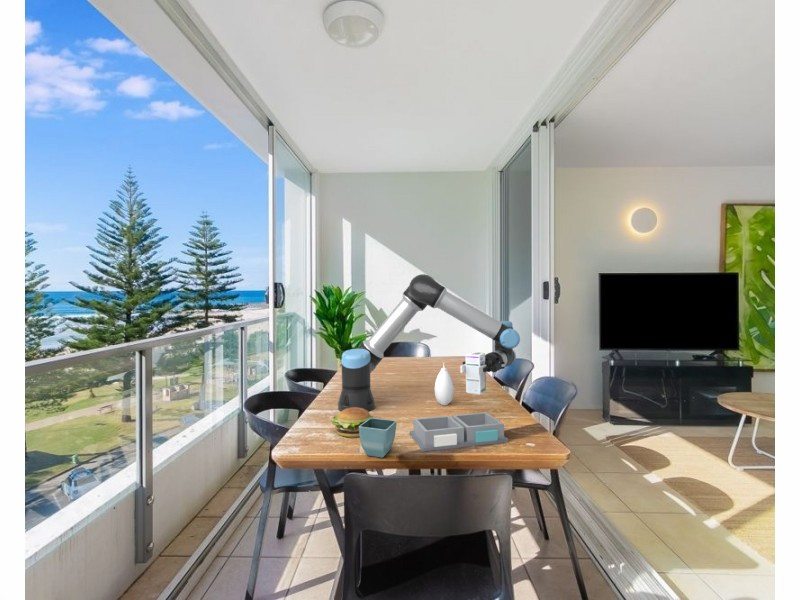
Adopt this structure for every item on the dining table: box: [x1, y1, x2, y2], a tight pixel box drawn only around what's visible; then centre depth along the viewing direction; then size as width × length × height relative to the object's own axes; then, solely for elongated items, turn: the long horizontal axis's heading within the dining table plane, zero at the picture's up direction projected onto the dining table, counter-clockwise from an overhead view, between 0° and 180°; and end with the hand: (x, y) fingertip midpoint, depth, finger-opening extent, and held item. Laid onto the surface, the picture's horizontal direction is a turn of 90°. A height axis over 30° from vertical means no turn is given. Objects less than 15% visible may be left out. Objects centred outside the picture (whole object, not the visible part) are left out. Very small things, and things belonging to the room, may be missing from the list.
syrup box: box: [464, 351, 487, 396], centre depth 146 cm, size 6×6×14 cm
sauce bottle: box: [434, 363, 455, 407], centre depth 165 cm, size 8×8×18 cm
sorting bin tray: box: [409, 412, 509, 453], centre depth 127 cm, size 28×15×6 cm, turn 104°
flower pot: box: [359, 417, 398, 458], centre depth 115 cm, size 9×9×9 cm
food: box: [331, 407, 374, 438], centre depth 134 cm, size 14×14×8 cm
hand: (469, 370), depth 142 cm, fingers closed on syrup box, 6 cm apart
